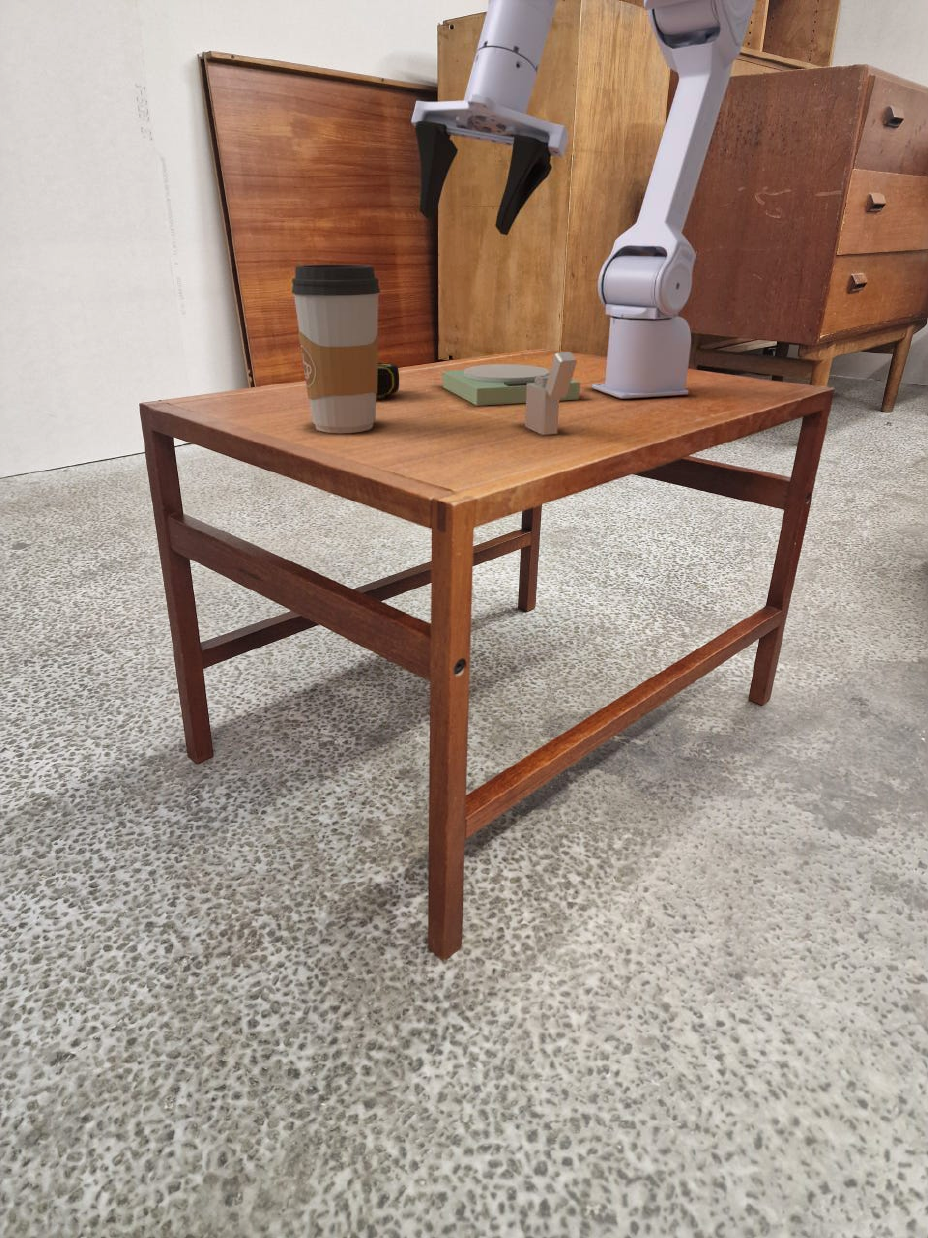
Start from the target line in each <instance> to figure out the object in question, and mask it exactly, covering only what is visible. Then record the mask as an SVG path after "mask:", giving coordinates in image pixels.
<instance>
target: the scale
mask: <svg viewBox="0 0 928 1238" xmlns="http://www.w3.org/2000/svg"><path fill="white" fill-rule="evenodd" d="M549 373H550V369H547V368H545V367H541V366H537V365H528V364H514V363H494V364H491V363H490V364H480V365H473V366H469V367H466V368H464V369H456V370H454V369H453V370H443V371H442V388H444V389H445V390H448V391H449V392H451V393H453V394H455V395H456V396H458V397H460V398H461V399H464V400H466V401H467V402H469V403H471V404H472V405H474V406H475V407H476V406H477V407H482V406H498V405H499V406H500V405H513V404H514V405H515V404H526V389H527V383H535V375H546V376H549ZM580 387H581V382H579V381H577V380H574V379H572V380H571V383H570V386H569V390H568V393H567V396H566V397H565V398H559V402H560V401H561V402H563V401H578V400H580V391H581V389H580Z"/></svg>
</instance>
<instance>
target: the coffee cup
mask: <svg viewBox="0 0 928 1238" xmlns="http://www.w3.org/2000/svg"><path fill="white" fill-rule="evenodd" d="M374 267H375V266H374V265H369V264H368V265H365V264H364V265H363V264H306V265H305V264H304V265H295V268H294V269H295V270H294V278H292V279H291V283H292V287H291V294H293V297H294V298H293V299H294V304H295V311H296V317H297V325H298V339H299V346H300V351H301V359H302V366H303V372H304V380H305V385H306V394H307V398H308V401H309V408H310V409H309V410H310V416H311V421H312V423H313V424H314V425H315V429H316V430H317V431H318V432H323V433H328V434H352V433H353V434H354V433H355V434H356V433H361V432H365V431H370V430H371V429H373V428H374V423H375V422H376V419H377V399H376V395H377V372H378V363H379V330H378V327H379V326H378V323H379V321H378V320H379V319H378V318H379V294H380V293H381V289H380V286H379V282H380V280H379V278H378V277H376V274H375V268H374Z"/></svg>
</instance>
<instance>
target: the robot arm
mask: <svg viewBox="0 0 928 1238" xmlns="http://www.w3.org/2000/svg"><path fill="white" fill-rule="evenodd" d="M756 1H757V0H643V9H644V10H645V11H647V17H648V20H649V24H650V27H651V29H652V33H653V35H654V37H655V40H656V42H657V44H658V46H659V49H660V52H661V54H662V56H663V59H664V61H665V64H666V66H667V68H668V69H671V70H672V71H673V72H675V73H677V74H678V83H677V86H676V89H675V93H674V97H673V99H672V103H671V106H670V110H669V113H668V117H667V120H666V123H665V127H664V129H663V133H662V136H661V140H660V144H659V147H658V150H657V152H656V153H657V154H656V156H655V160H654V163H653V167H652V170H651V174H650V177H649V180H648V184H647V187H646V190H645V193H644V197H643V200H642V204H641V207H640V211H639V214H638V217H637V220H636V222H635V224H633V225H632V226H631V227H630V228H628V229H626V231H624V232H623V233H622V234H620V236H618V237H617V238H616V239H615V240H614V243H613V245H612V249H611V252H610V254H609V255H608V257H607V259H606V260H605V261H604V263H603V265H602V267H601V268H600V272H599V275H598V279H597V294H598V298H599V302H600V303H601V304H602V306H603V307H604V308H605V316H610V318H609V332H608V344H607V345H608V346H607V357H606V369H605V382H604V383H593V384H591V389H594V390H596V391H599V392H602V393H604V394H607V395H610V396H613V397H615V398H618V399H622V400H623V399H641V398H653V397H654V398H655V397H671V396H672V397H673V396H686V395H689V393H690V390H688V389H686V388H687V379H688V372H689V363H690V355H691V348H692V334H691V327H690V325H689V323H688V321H687V320H686V319H685V318H684V317H681V316H679V315H678V314H679V312H680V311H681V310H682V309H683V308H684V307H685V305H686V304H687V302H688V300H689V297H690V295H691V292H692V285H693V270H694V265H695V261H696V259H697V253H696V251H695V249H694V248H693V246H692V244H691V243H690V242H689V240H688V239H687V238H686V236H685V235H684V234H683V230H684V228H685V224H686V221H687V217H688V214H689V212H690V208H691V204H692V201H693V198H694V195H695V192H696V188H697V186H698V183H699V179H700V175H701V173H702V169H703V166H704V164H705V163H704V162H705V160H706V156H707V153H708V149H709V146H710V143H711V139H712V137H713V133H714V130H715V127H716V123H717V120H718V117H719V114H720V110H721V108H722V104H723V101H724V98H725V94H726V91H727V88H728V86H729V83H730V78H731V75H732V70H733V65H734V61H735V60H737V58H738V57H739V56H740V54H741V50H742V46H743V43H744V40H745V37H746V34H747V32H748V28H749V24H750V21H751V17H752V15H753V11H754V8H755V6H756ZM487 2H488V4H487V9H486V14H485V18H484V22H483V26H482V29H481V33H480V36H479V40H478V44H477V48H476V51H475V56H474V59H473V62H472V63H473V64H472V67H471V71H470V75H469V78H468V82H467V86H466V90H465V93H464V97H463V100H446V101H423V100H416V101H415V105H414V110H413V113H412V117H411V120H410V121H411V122H410V123H411V124H412V126H413V127H414V132H415V137H416V142H417V148H418V154H419V165H420V197H419V198H420V199H419V210H418V211H419V212H420V213H421V214H422V215H423V217H425V219H429V220H434V219H435V216H436V214H437V210H438V208H439V204H440V203H439V202H440V200H441V195H442V190H443V188H444V184H445V181H446V179H447V176H448V174H449V171H450V169H451V167H452V164H453V162H454V160H455V158H456V157H457V154H458V151H459V149H458V147H457V146H456V144H455V143H454V142H453V140H452V139H451V136H453V137H459V138H464V139H471V140H476V141H481V142H487V143H492V144H498V145H504V146H509V147H512V152H511V158H510V163H509V168H508V175H507V179H506V184H505V187H504V191H503V194H502V197H501V201H500V203H499V207H498V210H497V212H496V213H497V214H496V218H495V224H494V225H495V228H496V230H498V232H499V233H500V235H504V236H508V235H509V233H510V230H511V228H512V227H513V225H514V223H515V221H516V219H517V217H518V215H519V214H520V212H521V210H522V209H523V207H524V205H525V204H526V203H527V201H528V199H529V198H530V197H531V196H532V194H533V193H534V192H535V191H536V190H537V188H538V187H539V186H540V185H541V184H542V183H543V182H544V181H545V180H546V179H547V178H548V177H549V175H550V173H551V171H552V168H553V166H552V164H551V160H552V157H553V158H558V159H563V158H564V155H565V152H566V148H567V145H568V142H569V138H570V136H569V132H568V130H567V127H566V126H565V125H563V124H558V123H555V122H550V121H547V120H543V119H541V118H537V117H535V116H531V115H530V114H527V111H528V108H529V104H530V101H531V96H532V93H533V90H534V87H535V83H536V79H537V75H538V72H539V67H540V64H541V60H542V57H543V53H544V51H545V47H546V43H547V39H548V35H549V32H550V29H551V25H552V22H553V17H554V15H555V11H556V7H557V4H558V0H488V1H487Z"/></svg>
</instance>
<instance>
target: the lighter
mask: <svg viewBox="0 0 928 1238" xmlns="http://www.w3.org/2000/svg"><path fill="white" fill-rule="evenodd" d="M577 364H578V360H577V359H576V358H575V356H574V355H573V354H572V352H571V351H561V352H556V353H555V354H554V356H553V359H552V363H551V367H550V369H549V371H550V373H549V376H546V375H535V383H527V389H526V403H525V418H524V419H525V420H524V427H525V428H527V429H529V430H531V431H533V432H535V433H537V434H540V435H542V436H545V435H557V434H558V428H559V427H558V426H559V412H560V411H559V410H560V401H559V398H565V397H566V396H567V393H568V390H569V386H570V383H571V380H573V377H574V373H575V371H576V367H577Z"/></svg>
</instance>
